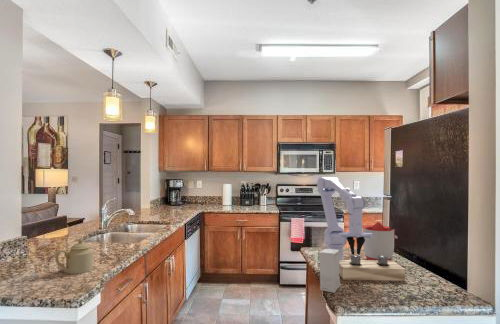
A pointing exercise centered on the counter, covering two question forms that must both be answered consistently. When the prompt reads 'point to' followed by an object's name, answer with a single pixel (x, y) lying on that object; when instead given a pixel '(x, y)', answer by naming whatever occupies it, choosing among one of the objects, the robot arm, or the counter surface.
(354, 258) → the steel peg
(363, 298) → the counter surface
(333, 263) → the skincare box
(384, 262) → the steel peg
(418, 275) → the counter surface
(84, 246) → the olive green teapot
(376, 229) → the citrus juicer
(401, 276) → the maple peg block
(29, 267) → the counter surface
